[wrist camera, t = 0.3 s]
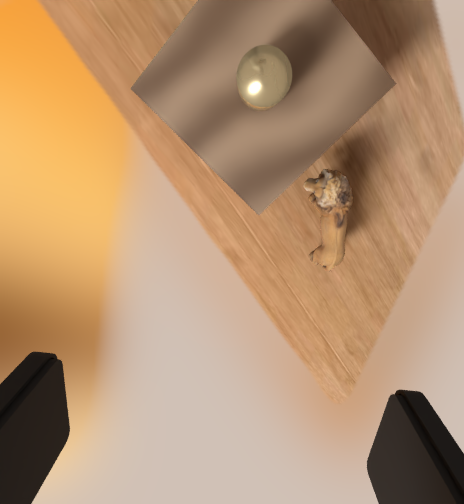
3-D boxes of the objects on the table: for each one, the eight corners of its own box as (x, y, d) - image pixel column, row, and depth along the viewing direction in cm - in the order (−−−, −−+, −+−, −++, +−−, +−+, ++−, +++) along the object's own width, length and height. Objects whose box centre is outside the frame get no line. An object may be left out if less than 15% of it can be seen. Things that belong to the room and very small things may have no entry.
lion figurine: (293, 168, 41) (305, 178, 33) (335, 158, 40) (359, 165, 32) (310, 272, 46) (325, 304, 37) (348, 265, 45) (372, 295, 37)
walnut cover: (160, 99, 38) (107, 79, 24) (258, -23, 34) (268, -140, 19) (255, 195, 42) (261, 229, 27) (356, 96, 37) (427, 73, 23)
